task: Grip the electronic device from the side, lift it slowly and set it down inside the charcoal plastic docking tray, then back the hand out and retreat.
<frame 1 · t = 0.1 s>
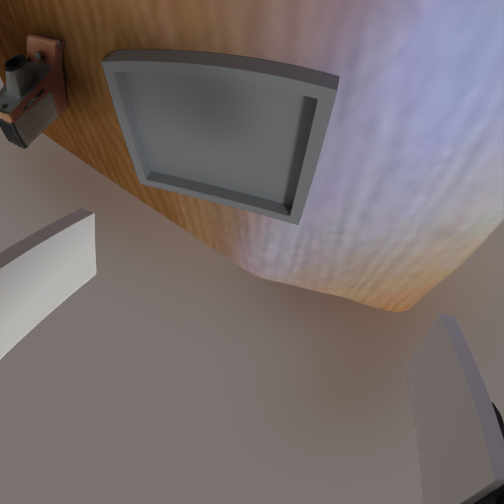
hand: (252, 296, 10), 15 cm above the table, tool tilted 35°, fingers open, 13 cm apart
dock tray: (217, 131, 24), on the table
electronic device: (54, 68, 21), on the table
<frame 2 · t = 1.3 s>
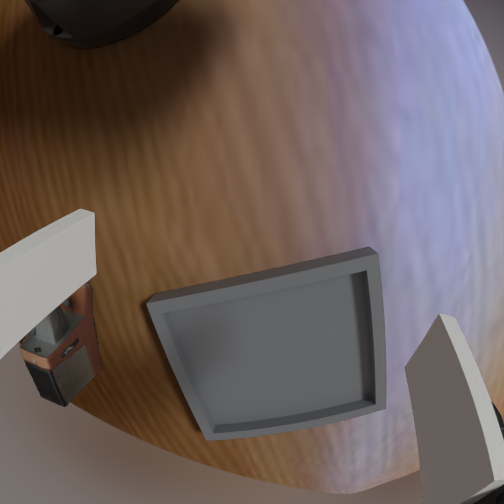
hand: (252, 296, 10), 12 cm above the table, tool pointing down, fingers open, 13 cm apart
dock tray: (279, 355, 25), on the table
electronic device: (80, 321, 25), on the table
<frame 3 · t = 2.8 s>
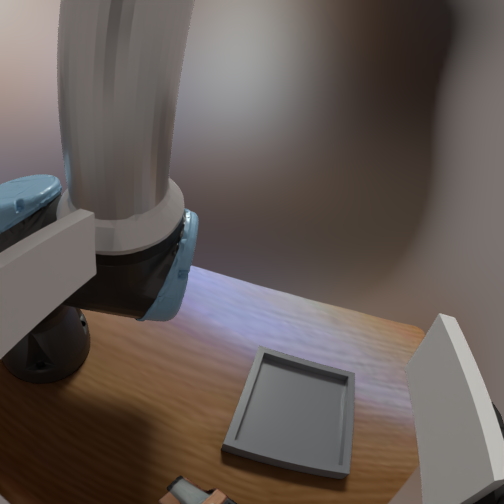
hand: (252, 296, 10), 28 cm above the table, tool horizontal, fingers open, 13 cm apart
dock tray: (295, 413, 36), on the table
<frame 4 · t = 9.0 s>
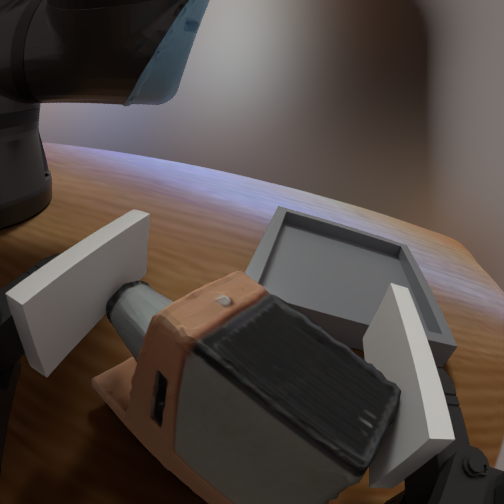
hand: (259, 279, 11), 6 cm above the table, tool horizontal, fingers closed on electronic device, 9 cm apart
dock tray: (343, 280, 26), on the table
electronic device: (201, 443, 11), on the table, touching gripper
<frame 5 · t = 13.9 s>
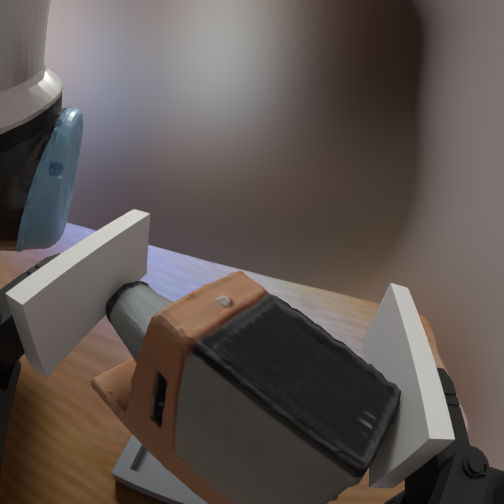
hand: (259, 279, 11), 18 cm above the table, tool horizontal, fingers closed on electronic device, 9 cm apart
dock tray: (239, 433, 23), on the table
electronic device: (201, 444, 11), point 12 cm above the table, touching gripper
when the fingers open (8 cm above the table, at t = 18.5 s): electronic device drops 2 cm, resting on dock tray.
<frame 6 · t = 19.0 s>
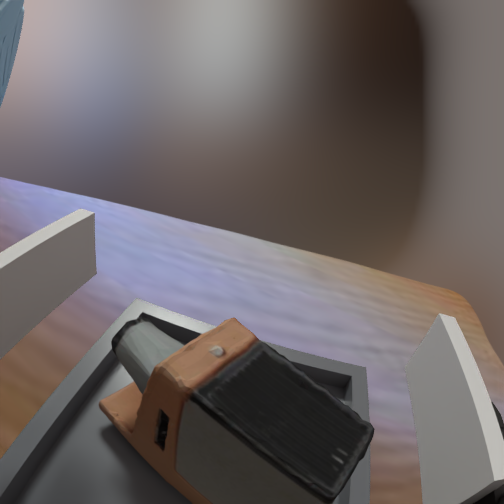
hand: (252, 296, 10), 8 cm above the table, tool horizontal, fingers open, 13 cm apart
dock tray: (199, 474, 11), on the table
electronic device: (200, 459, 12), point 1 cm above the table, touching dock tray
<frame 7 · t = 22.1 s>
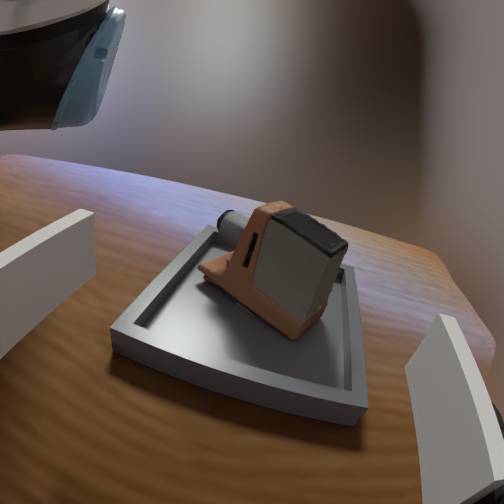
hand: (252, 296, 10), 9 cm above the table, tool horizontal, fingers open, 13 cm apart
dock tray: (259, 312, 24), on the table
electronic device: (256, 300, 24), point 1 cm above the table, touching dock tray
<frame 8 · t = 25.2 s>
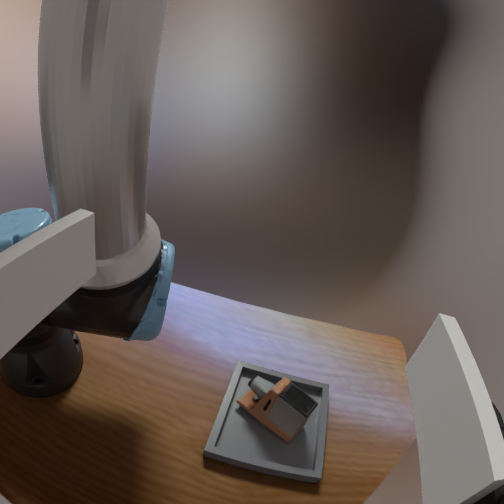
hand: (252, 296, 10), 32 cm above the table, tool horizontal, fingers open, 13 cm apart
dock tray: (271, 422, 39), on the table
electronic device: (269, 416, 39), point 1 cm above the table, touching dock tray
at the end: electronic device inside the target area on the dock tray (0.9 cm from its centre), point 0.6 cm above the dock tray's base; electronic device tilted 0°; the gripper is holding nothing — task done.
